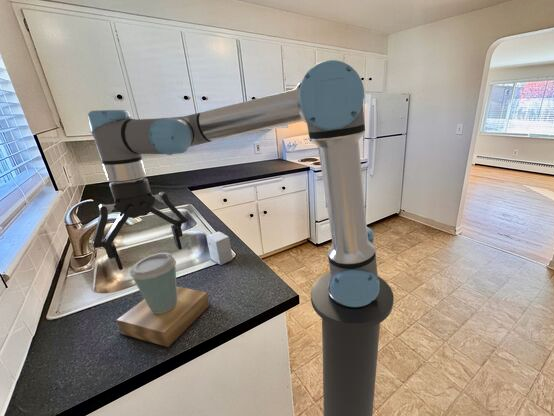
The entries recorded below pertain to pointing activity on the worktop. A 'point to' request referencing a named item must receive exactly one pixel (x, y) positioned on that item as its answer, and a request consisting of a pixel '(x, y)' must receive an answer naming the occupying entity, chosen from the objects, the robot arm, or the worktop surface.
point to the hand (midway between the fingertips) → (151, 257)
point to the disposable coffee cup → (157, 281)
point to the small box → (219, 247)
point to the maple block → (164, 318)
